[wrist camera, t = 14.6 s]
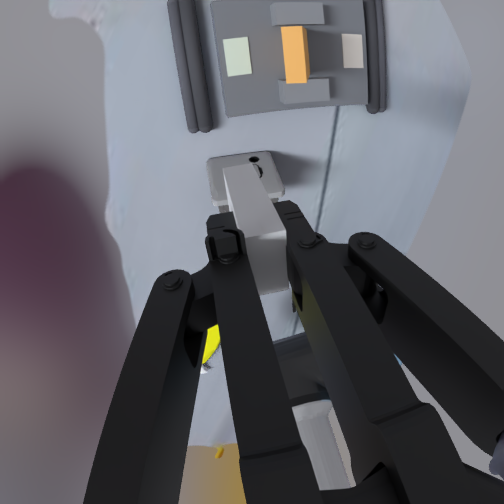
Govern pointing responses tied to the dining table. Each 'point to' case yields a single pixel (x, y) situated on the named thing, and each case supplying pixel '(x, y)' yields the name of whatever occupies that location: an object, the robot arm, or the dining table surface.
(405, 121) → the dining table surface
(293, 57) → the lever
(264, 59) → the breaker panel
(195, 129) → the cable bundle
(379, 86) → the cable bundle
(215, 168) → the electrical switch
